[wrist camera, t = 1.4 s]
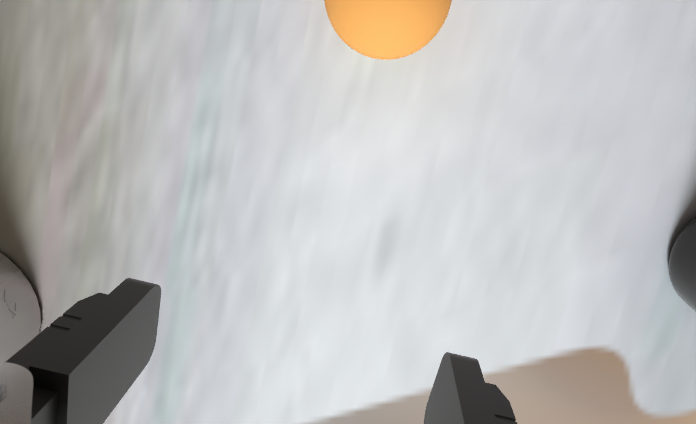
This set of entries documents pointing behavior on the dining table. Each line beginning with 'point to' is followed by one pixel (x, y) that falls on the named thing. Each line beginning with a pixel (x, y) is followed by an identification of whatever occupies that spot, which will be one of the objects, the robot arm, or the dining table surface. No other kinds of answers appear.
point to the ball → (387, 24)
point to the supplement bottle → (684, 264)
